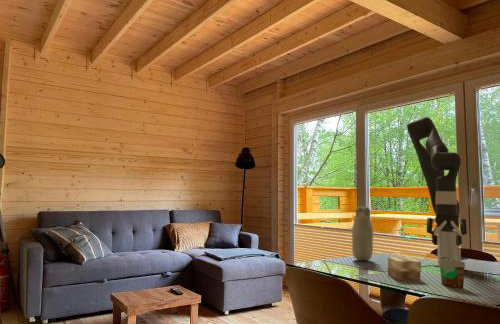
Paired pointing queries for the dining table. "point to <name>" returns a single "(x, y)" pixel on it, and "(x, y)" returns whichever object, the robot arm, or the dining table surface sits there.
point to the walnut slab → (403, 275)
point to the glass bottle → (362, 235)
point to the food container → (451, 272)
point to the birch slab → (404, 264)
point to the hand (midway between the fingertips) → (446, 245)
